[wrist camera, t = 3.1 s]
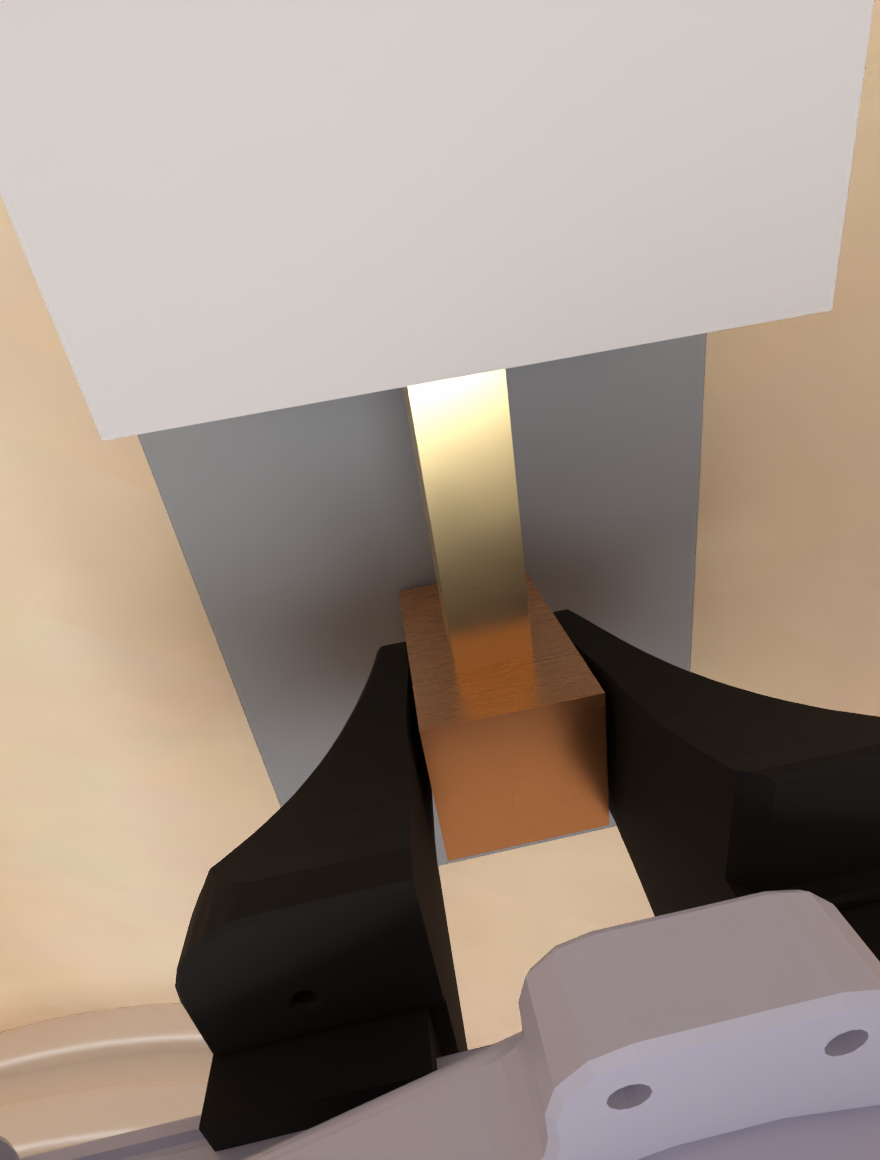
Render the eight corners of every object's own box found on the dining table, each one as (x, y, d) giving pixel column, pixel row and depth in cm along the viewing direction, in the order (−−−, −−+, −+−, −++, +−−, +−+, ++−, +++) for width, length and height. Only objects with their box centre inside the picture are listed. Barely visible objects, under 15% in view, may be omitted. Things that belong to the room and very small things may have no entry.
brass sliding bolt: (475, 87, 10) (579, -113, 5) (533, 670, 15) (609, 824, 10) (298, 115, 9) (244, -68, 5) (419, 693, 15) (447, 860, 10)
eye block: (687, 3, 11) (1163, -445, 4) (665, 783, 19) (812, 1008, 13) (37, 100, 10) (-500, -260, 4) (316, 860, 19) (296, 1135, 12)
